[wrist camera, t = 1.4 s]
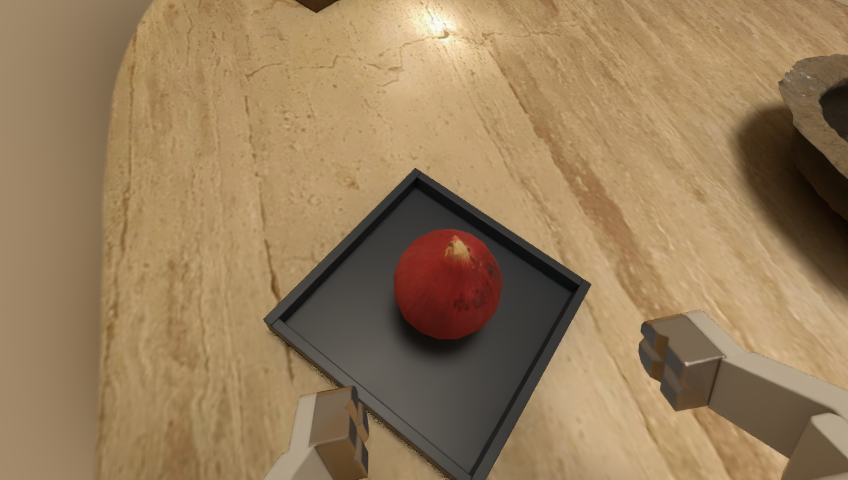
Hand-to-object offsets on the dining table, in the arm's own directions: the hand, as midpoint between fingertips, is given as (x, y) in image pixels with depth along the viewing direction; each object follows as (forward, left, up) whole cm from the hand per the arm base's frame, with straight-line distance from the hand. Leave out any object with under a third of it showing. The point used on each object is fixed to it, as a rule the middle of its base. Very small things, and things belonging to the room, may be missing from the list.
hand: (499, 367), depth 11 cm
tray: (-3, +5, -13) cm, 14 cm away
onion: (-3, +5, -13) cm, 14 cm away
